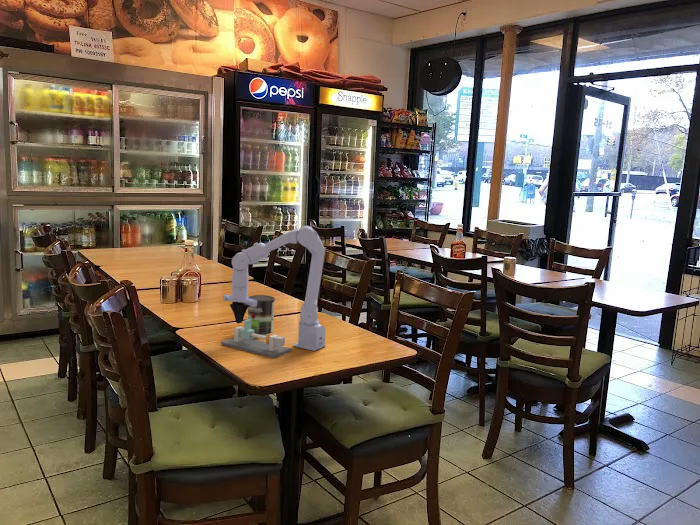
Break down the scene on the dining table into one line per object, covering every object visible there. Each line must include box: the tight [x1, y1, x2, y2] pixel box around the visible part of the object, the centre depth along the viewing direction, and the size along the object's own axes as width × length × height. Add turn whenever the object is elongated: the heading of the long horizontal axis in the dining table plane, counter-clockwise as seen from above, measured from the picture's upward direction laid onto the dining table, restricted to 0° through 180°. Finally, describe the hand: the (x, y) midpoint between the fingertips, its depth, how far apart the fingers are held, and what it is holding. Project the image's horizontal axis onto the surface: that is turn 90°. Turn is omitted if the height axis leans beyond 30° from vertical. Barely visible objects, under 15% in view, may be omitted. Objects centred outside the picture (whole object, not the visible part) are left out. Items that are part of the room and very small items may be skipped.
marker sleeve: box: [240, 318, 255, 340], centre depth 201 cm, size 4×3×7 cm
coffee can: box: [247, 294, 276, 336], centre depth 218 cm, size 10×10×14 cm
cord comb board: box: [220, 325, 292, 359], centre depth 199 cm, size 24×10×6 cm, turn 60°
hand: (239, 322), depth 203 cm, fingers closed
